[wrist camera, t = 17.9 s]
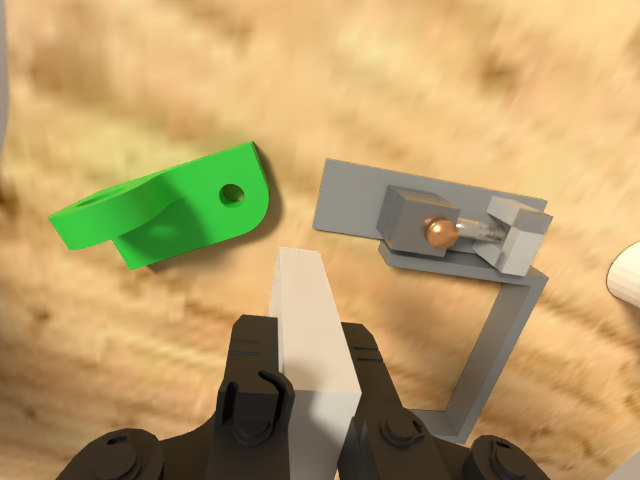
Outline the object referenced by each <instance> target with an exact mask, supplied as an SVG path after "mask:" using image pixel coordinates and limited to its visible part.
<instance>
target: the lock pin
mask: <svg viewBox="0 0 640 480" xmlns="http://www.w3.org/2000/svg"><path fill="white" fill-rule="evenodd" d="M460 211H461V209H460V208H458V207H457V206H455V205H453V204H452V203H450V202H449V201H447V200H445V199H444V198H442V197H441V196H439V195H437V194H436V193H430V192H425V191H419V190H414V189H408V188H403V187H398V186H392V185H388V186H387V190H386V194H385V197H384V201H383V204H382V208H381V212H380V215H379V219H378V222H377V226H376V229H377V230H378V231H379V233H380V234H381V236H382V237H383V238H384V240H385V241H386V243H387V244H388V246H389V247H390V248H391V249H394V250H401V251H407V252H414V253H420V254H427V255H434V256H440V257H444V255H445V252H446V249H447V248H449V247H451V246H452V245H453V244H454V243H455V242H456V241H457V239H458V236H460V237H467V238H473V239H479V240H485V241H491V242H500V241H502V239H503V238H504V235H505V228H504V226H503V225H500V224H494V223H488V222H482V221H476V220H471V219H465V218H459V214H460Z"/></svg>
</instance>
